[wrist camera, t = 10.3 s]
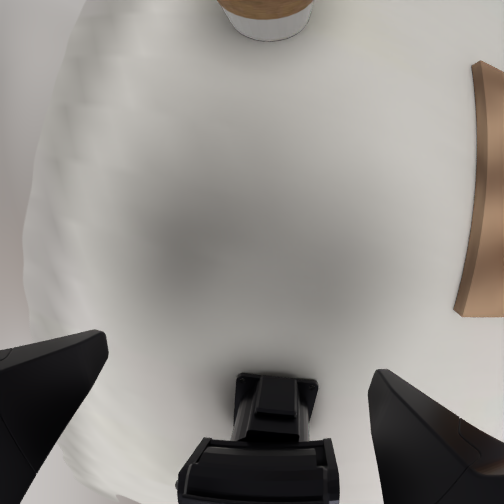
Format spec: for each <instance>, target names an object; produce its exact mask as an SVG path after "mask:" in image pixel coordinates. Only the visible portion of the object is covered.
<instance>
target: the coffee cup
mask: <svg viewBox="0 0 504 504" xmlns="http://www.w3.org/2000/svg"><path fill="white" fill-rule="evenodd" d="M217 1H218V2H219V4H220V5H221V6H222V8H223V10H224V12H225V13H226V15H227V17H228V18H229V20H230V22H231V23H232V25H233V26H234V27H235V29H236V30H237V31H239V32H240V33H241V34H243V35H245V36H247V37H249V38H252V39H255V40H261V41H277V40H282V39H286V38H289V37H291V36H294V35H295V34H297V33H298V32H300V31H301V30H302V29H303V28H304V27H305V26H306V24H307V22H308V20H309V17H310V14H311V10H312V6H313V2H314V0H217Z"/></svg>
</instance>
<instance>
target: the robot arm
mask: <svg viewBox="0 0 504 504" xmlns="http://www.w3.org/2000/svg"><path fill="white" fill-rule="evenodd" d="M108 354H109V352H108V345H107V339H106V335H105V333H104V332H103V331H99V330H95V329H94V330H89V331H85V332H81V333H77V334H73V335H68V336H64V337H60V338H55V339H51V340H47V341H42V342H38V343H33V344H29V345H24V346H19V347H14V348H10V349H5V350H0V504H20V502H21V501H22V499H23V497H24V495H25V494H26V492H27V490H28V488H29V486H30V485H31V483H32V481H33V480H34V478H35V476H36V473H38V471H39V469H40V468H41V466H42V464H43V463H44V461H45V459H46V458H47V456H48V455H49V453H50V451H51V450H52V448H53V446H54V445H55V443H56V442H57V440H58V439H59V437H60V435H61V434H62V432H63V431H64V429H65V428H66V426H67V425H68V423H69V422H70V420H71V419H72V417H73V415H74V414H75V412H76V411H77V409H78V408H79V406H80V405H81V403H82V402H83V400H84V399H85V398H86V396H87V395H88V393H89V391H90V390H91V388H92V386H93V385H94V383H95V381H96V379H97V377H98V375H99V373H100V372H101V370H102V368H103V366H104V364H105V362H106V360H107V358H108ZM241 379H245V380H244V381H243V380H241ZM310 386H314V387H310ZM317 392H318V383H317V382H316V381H314V380H303V379H294V378H283V377H273V376H261V375H253V374H245V373H241V374H239V375H238V376H237V380H236V394H235V409H234V425H233V426H234V429H233V433H232V437H231V441H225V440H213V439H212V438H205V437H204V438H203V440H202V441H201V442H200V444H199V445H198V446H197V448H196V449H195V451H194V452H193V454H192V455H191V456H190V458H189V459H188V461H187V462H186V463H185V465H184V466H183V468H182V469H181V470H180V472H179V474H178V480H177V481H176V484H175V487H176V489H177V496H178V503H179V504H339V496H340V485H339V473H338V467H337V463H336V458H335V454H334V449H333V445H332V441H331V438H327V439H323V440H318V441H309V421H310V418H311V414H312V410H313V407H314V403H315V399H316V396H317ZM368 402H369V413H370V424H371V434H372V440H373V445H374V450H375V455H376V460H377V465H378V471H379V476H380V482H381V488H382V494H383V501H384V504H504V443H503V442H501V441H499V440H498V439H496V438H494V437H492V436H490V435H488V434H486V433H484V432H483V431H481V430H479V429H477V428H476V427H474V426H473V425H471V424H469V423H468V422H466V421H465V420H463V419H462V418H460V419H459V416H457V415H456V414H454V413H452V412H451V411H449V410H448V409H446V408H445V407H443V406H442V405H440V404H439V403H437V402H436V401H434V400H433V399H431V398H430V397H428V396H427V395H425V394H424V393H422V392H421V391H419V390H418V389H417V388H415V387H414V386H412V385H411V384H409V383H408V382H406V381H405V380H403V379H402V378H400V377H399V376H397V375H396V374H394V373H393V372H391V371H390V370H388V369H377V370H376V371H375V373H374V375H373V378H372V381H371V384H370V387H369V390H368Z"/></svg>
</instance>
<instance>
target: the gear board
mask: <svg viewBox="0 0 504 504" xmlns="http://www.w3.org/2000/svg"><path fill="white" fill-rule="evenodd" d="M472 73H473V81H474V90H475V102H476V118H477V171H476V187H475V199H474V209H473V217H472V225H471V232H470V238H469V244H468V250H467V255H466V260H465V265H464V270H463V274H462V279H461V283H460V287H459V291H458V295H457V299H456V303H455V306H454V310H455V311H456V312H457V313H458V314H459V315H460V316H462V317H504V72H502V71H501V70H499V69H497V68H495V67H493V66H491V65H489V64H487V63H485V62H483V61H481V60H480V61H479V62H477V63H475V64H474V65H472Z"/></svg>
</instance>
